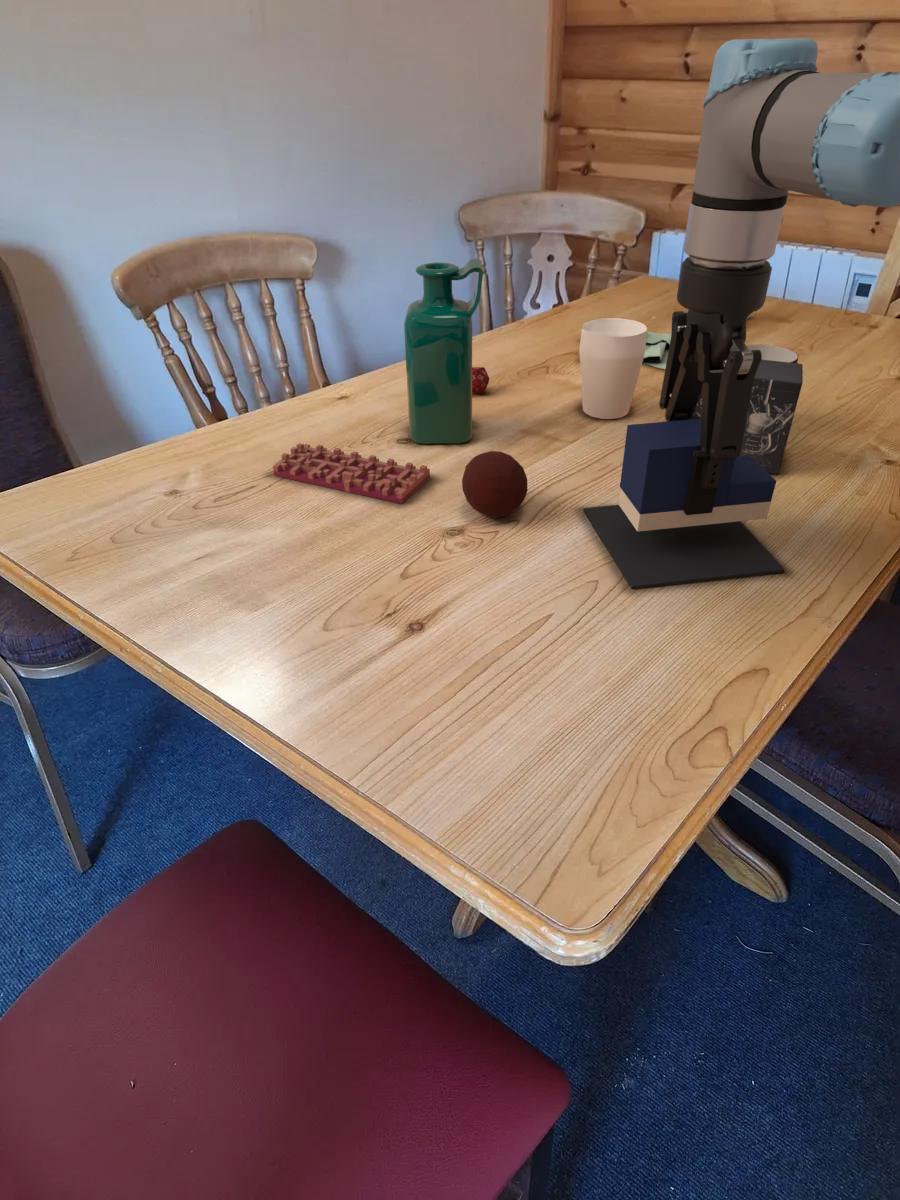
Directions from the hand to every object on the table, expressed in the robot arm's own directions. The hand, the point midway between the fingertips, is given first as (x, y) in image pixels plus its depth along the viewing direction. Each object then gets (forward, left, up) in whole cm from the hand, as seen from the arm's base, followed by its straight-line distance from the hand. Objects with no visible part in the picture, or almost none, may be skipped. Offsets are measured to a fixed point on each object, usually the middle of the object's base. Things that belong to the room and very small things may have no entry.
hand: (684, 496), depth 80 cm
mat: (0, 0, -5) cm, 5 cm away
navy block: (0, -1, -2) cm, 2 cm away
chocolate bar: (+22, +34, -5) cm, 41 cm away
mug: (+26, -21, -5) cm, 34 cm away
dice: (+47, +13, -5) cm, 49 cm away
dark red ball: (+10, +18, -5) cm, 21 cm away
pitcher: (+33, +20, -5) cm, 39 cm away
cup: (+36, -4, -5) cm, 37 cm away
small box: (+18, -14, -5) cm, 23 cm away
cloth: (+61, -18, -5) cm, 64 cm away
